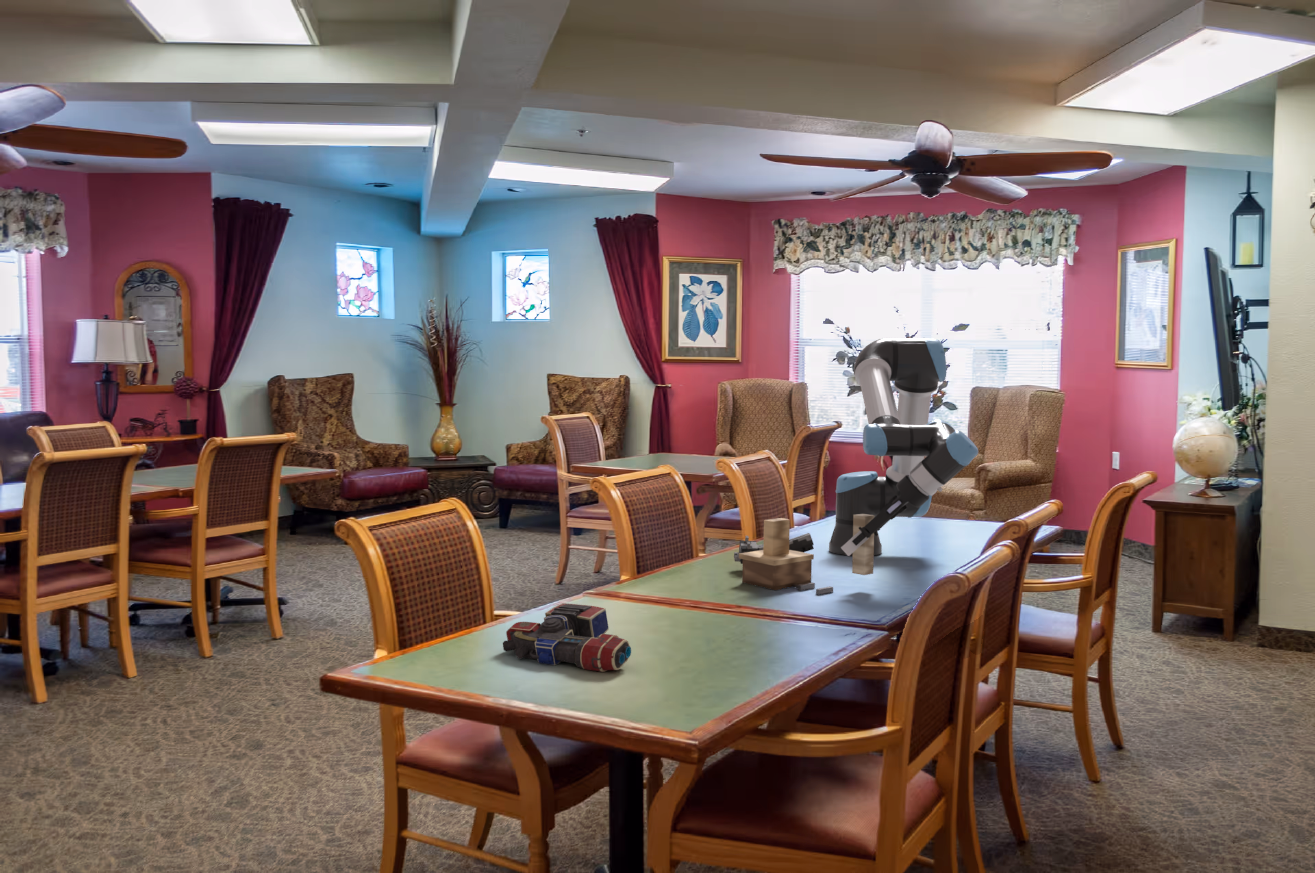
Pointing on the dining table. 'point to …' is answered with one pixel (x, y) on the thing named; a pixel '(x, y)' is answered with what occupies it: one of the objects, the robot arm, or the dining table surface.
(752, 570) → the open wooden box
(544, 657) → the multicoloured piece
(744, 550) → the toy
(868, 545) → the tan block
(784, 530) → the lid
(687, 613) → the dining table surface
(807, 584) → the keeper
